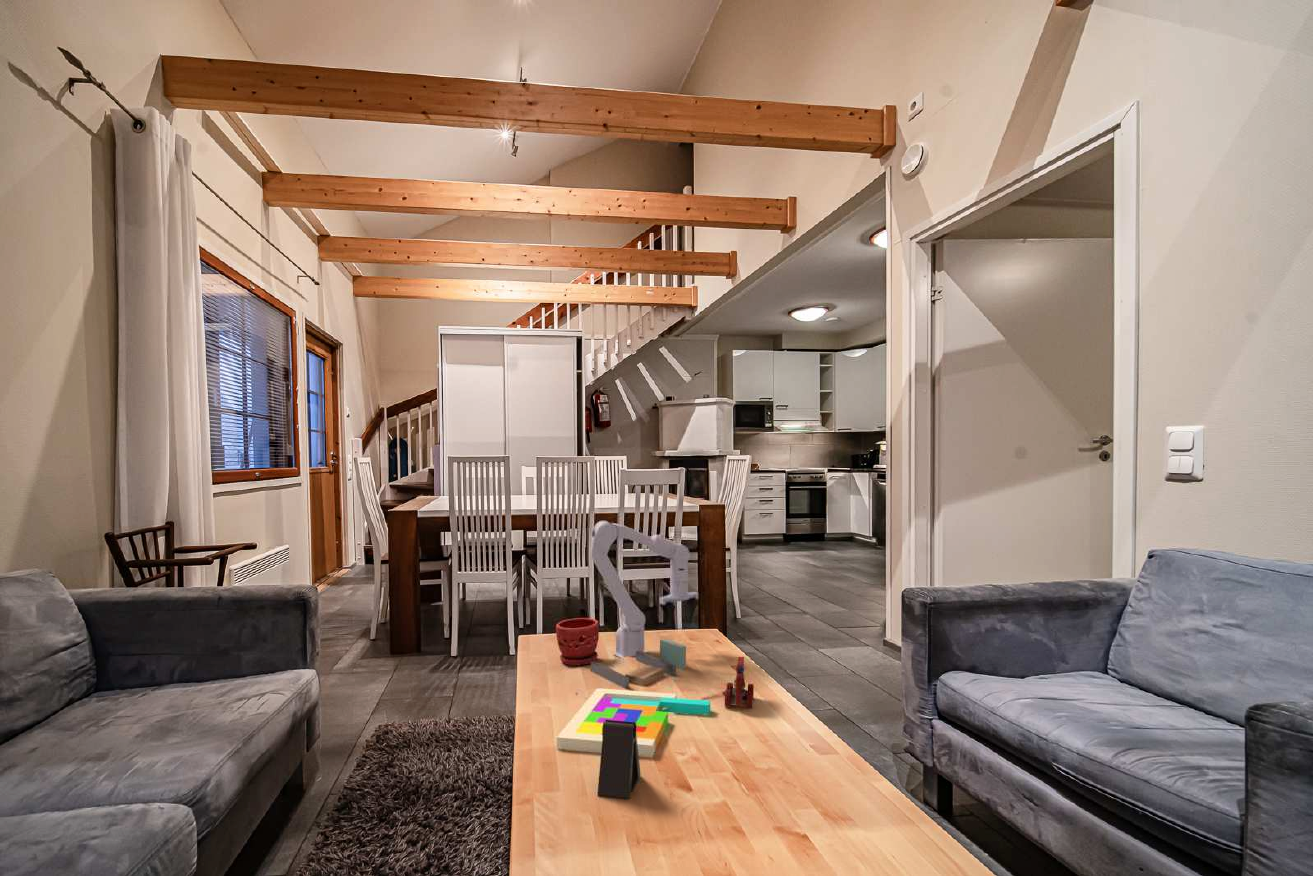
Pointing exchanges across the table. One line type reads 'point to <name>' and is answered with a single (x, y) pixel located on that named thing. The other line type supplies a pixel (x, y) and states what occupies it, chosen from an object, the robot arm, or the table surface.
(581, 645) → the plant pot
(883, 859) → the table surface
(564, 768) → the table surface
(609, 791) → the phone stand
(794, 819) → the table surface
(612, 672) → the rack
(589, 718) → the puzzle game
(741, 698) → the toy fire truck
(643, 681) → the offcut upper
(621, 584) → the robot arm
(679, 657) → the teal board
